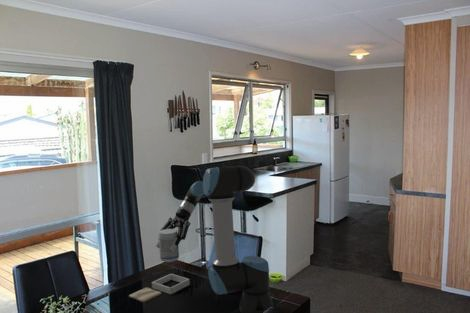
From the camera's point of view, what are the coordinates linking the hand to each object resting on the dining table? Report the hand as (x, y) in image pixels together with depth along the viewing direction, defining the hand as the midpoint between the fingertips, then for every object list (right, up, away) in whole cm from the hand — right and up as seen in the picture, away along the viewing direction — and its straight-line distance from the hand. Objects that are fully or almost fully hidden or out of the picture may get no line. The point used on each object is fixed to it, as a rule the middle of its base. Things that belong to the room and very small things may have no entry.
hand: (164, 248), depth 201 cm
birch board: (-8, -22, -5) cm, 24 cm away
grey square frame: (+3, -20, +5) cm, 21 cm away
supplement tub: (+2, -6, +3) cm, 7 cm away
